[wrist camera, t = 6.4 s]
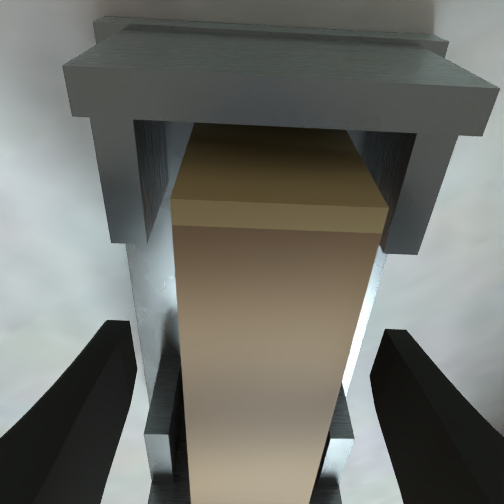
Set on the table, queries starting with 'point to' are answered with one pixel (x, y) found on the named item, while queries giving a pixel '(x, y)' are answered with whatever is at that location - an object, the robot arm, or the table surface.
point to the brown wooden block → (267, 300)
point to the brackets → (262, 114)
